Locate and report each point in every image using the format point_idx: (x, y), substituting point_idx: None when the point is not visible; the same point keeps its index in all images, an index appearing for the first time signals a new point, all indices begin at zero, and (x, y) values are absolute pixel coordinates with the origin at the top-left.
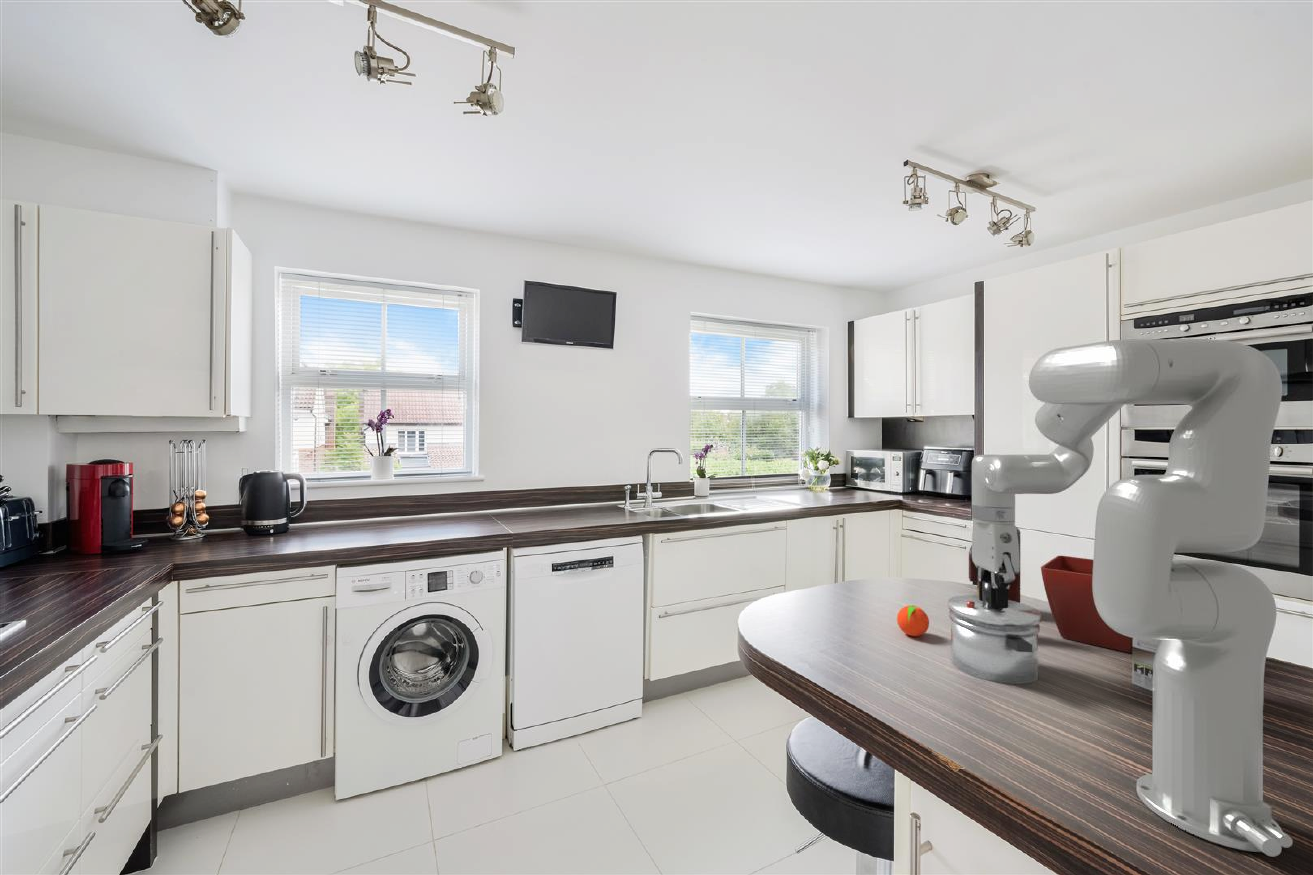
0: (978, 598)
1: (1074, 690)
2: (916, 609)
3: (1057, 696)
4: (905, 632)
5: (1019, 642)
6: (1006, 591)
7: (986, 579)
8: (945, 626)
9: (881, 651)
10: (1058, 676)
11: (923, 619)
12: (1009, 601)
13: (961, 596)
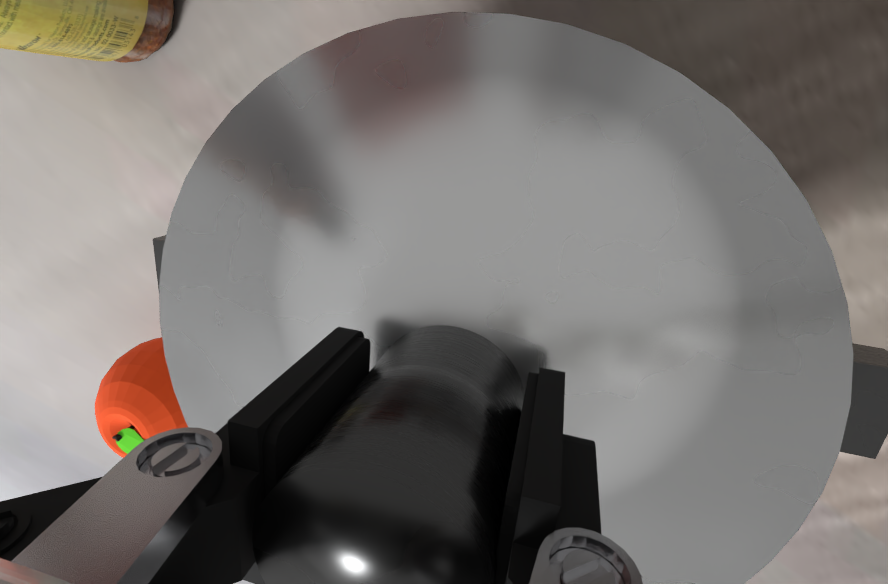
0: (232, 347)
1: (786, 36)
2: (147, 434)
3: (825, 175)
4: None
5: (850, 423)
6: (554, 486)
7: (240, 556)
8: (94, 183)
9: None
10: (624, 3)
11: None
12: (280, 133)
13: None
